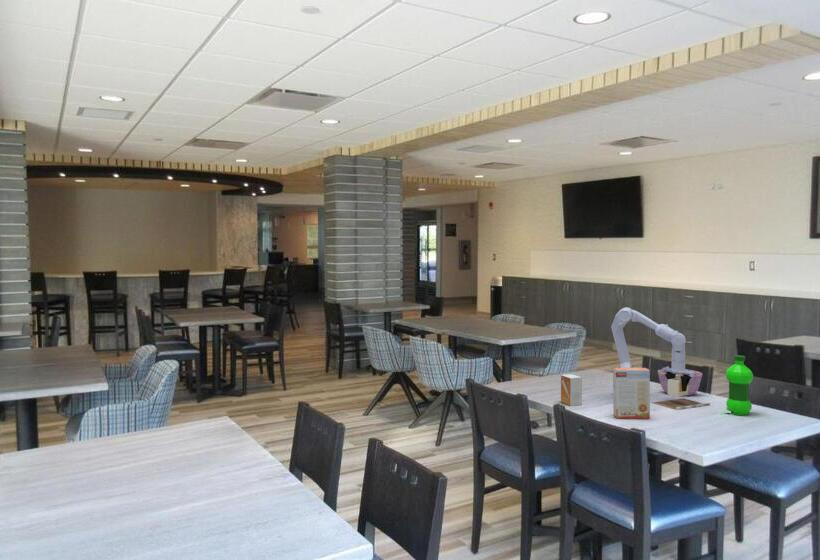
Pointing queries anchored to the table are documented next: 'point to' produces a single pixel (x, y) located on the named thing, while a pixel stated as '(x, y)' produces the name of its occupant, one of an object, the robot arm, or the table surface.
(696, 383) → the bowl of food
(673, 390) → the carton
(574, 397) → the small box
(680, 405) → the shelf board
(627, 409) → the cracker box
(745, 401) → the plastic bottle
